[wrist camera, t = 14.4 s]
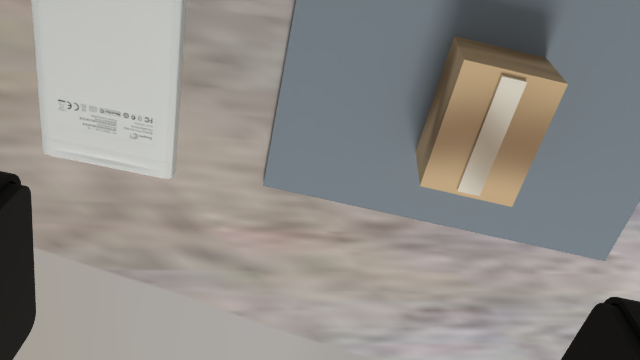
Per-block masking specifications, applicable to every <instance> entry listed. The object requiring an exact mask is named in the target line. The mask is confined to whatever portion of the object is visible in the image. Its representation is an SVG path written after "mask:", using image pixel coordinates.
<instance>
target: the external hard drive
mask: <svg viewBox="0 0 640 360" xmlns="http://www.w3.org/2000/svg"><path fill="white" fill-rule="evenodd" d="M31 3H32V16H33V29H34V42H35V55H36V69H37V81H38V94H39V106H40V120H41V132H42V146H43V153H44V154H47V155H49V156H54V157H59V158H64V159H69V160H75V161H80V162H85V163H90V164H95V165H100V166H105V167H109V168H114V169H119V170H124V171H129V172H134V173H139V174H144V175H148V176H153V177H158V178H169V179H170V178H172V177H173V175H174V174H175V171H176V155H177V140H178V125H179V109H180V93H181V76H182V60H183V43H184V27H185V10H186V0H31Z"/></svg>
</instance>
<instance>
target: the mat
mask: <svg viewBox="0 0 640 360" xmlns="http://www.w3.org/2000/svg"><path fill="white" fill-rule="evenodd" d="M454 36H456V37H460V38H465V39H469V40H473V41H477V42H482V43H486V44H490V45H494V46H498V47H503V48H507V49H511V50H515V51H520V52H524V53H528V54H532V55H537V56H541V57H545V58H547V59H548V61H549V62H550V63H551V64H552V65H553V67H554V68H555V69H556V70H557V71H558V73H559V74H560V75H561V76H562V77H563V78H564V80H565V81H566V82H567V83H568V85H567V88H566V90H565V92H564V94H563V96H562V98H561V101H560V103H559V105H558V107H557V109H556V112H555V114H554V116H553V118H552V120H551V123H550V125H549V127H548V129H547V131H546V134H545V136H544V138H543V140H542V142H541V145H540V147H539V149H538V151H537V153H536V156H535V158H534V160H533V162H532V164H531V166H530V169H529V171H528V173H527V175H526V177H525V180H524V182H523V184H522V186H521V188H520V191H519V193H518V195H517V197H516V199H515V202H514V204H513V206H512V207H509V206H505V205H501V204H496V203H492V202H488V201H483V200H479V199H474V198H470V197H466V196H461V195H457V194H453V193H448V192H444V191H439V190H435V189H431V188H426V187H422V186H420V183H419V175H418V167H417V159H416V149H417V146H418V143H419V140H420V137H421V134H422V131H423V128H424V125H425V122H426V119H427V116H428V113H429V110H430V107H431V104H432V101H433V98H434V95H435V92H436V89H437V86H438V83H439V80H440V77H441V74H442V71H443V68H444V65H445V62H446V59H447V56H448V53H449V50H450V47H451V44H452V41H453V38H454ZM263 186H267V187H271V188H276V189H280V190H285V191H289V192H294V193H298V194H303V195H308V196H312V197H317V198H321V199H326V200H330V201H335V202H339V203H344V204H348V205H353V206H357V207H362V208H367V209H371V210H376V211H380V212H385V213H389V214H394V215H398V216H403V217H407V218H412V219H416V220H421V221H426V222H430V223H435V224H439V225H444V226H448V227H453V228H457V229H462V230H466V231H471V232H476V233H480V234H485V235H489V236H494V237H498V238H503V239H507V240H512V241H516V242H521V243H525V244H530V245H535V246H539V247H544V248H548V249H553V250H557V251H562V252H566V253H571V254H575V255H580V256H584V257H589V258H594V259H598V260H603V261H605V260H606V258H607V256H608V255H609V253H610V251H611V249H612V248H613V246H614V244H615V242H616V241H617V239H618V237H619V236H620V234H621V232H622V230H623V229H624V227H625V225H626V223H627V222H628V220H629V218H630V217H631V215H632V213H633V211H634V210H635V208H636V206H637V204H638V203H639V201H640V0H296V3H295V9H294V14H293V20H292V26H291V31H290V37H289V43H288V48H287V54H286V60H285V65H284V71H283V76H282V82H281V88H280V93H279V99H278V105H277V110H276V116H275V122H274V127H273V133H272V139H271V144H270V150H269V156H268V161H267V167H266V172H265V178H264V184H263Z"/></svg>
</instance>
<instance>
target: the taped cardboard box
mask: <svg viewBox="0 0 640 360" xmlns="http://www.w3.org/2000/svg"><path fill="white" fill-rule="evenodd" d="M567 85H568V83H567V82H566V81H565V80H564V78H563V77H562V76H561V75H560V74H559V73H558V71H557V70H556V69H555V68H554V67H553V65H552V64H551V63H550V62H549V61H548V59H547V58H545V57H541V56H537V55H532V54H528V53H524V52H520V51H515V50H511V49H507V48H503V47H498V46H494V45H490V44H486V43H482V42H477V41H473V40H469V39H465V38H460V37H456V36H454V38H453V41H452V44H451V47H450V50H449V53H448V56H447V59H446V62H445V65H444V68H443V71H442V74H441V77H440V80H439V83H438V86H437V89H436V92H435V95H434V98H433V101H432V104H431V107H430V110H429V113H428V116H427V119H426V122H425V125H424V128H423V131H422V134H421V137H420V140H419V143H418V146H417V149H416V159H417V167H418V175H419V183H420V186H422V187H426V188H431V189H435V190H439V191H444V192H448V193H453V194H457V195H461V196H466V197H470V198H474V199H479V200H483V201H488V202H492V203H496V204H501V205H505V206H509V207H512V206H513V204H514V202H515V199H516V197H517V195H518V193H519V191H520V188H521V186H522V184H523V182H524V180H525V177H526V175H527V173H528V171H529V169H530V166H531V164H532V162H533V160H534V158H535V156H536V153H537V151H538V149H539V147H540V145H541V142H542V140H543V138H544V136H545V134H546V131H547V129H548V127H549V125H550V123H551V120H552V118H553V116H554V114H555V112H556V109H557V107H558V105H559V103H560V101H561V98H562V96H563V94H564V92H565V90H566V88H567Z"/></svg>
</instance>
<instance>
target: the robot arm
mask: <svg viewBox="0 0 640 360" xmlns="http://www.w3.org/2000/svg"><path fill="white" fill-rule="evenodd" d="M35 315H36V302H35V278H34V254H33V230H32V206H31V192H30V189H29V187H27V186H23V185H21V181H20V179H19V177H18V176H17V175H15V174H11V173H6V172H1V171H0V360H13V358H14V357H15V355H16V354H17V352H18V350H19V349H20V348H21V346H22V344H23V343H24V341H25V340H26V338H27V337H28V335H29V333H30V331H31V329H32V327H33V324H34V321H35ZM561 360H640V302H638V301H634V300H629V299H624V298H619V297H610V298H609V299H607V300H606V301H605V302H604V303H599V304H597V305H596V306H595V307H594V308H593V310H592V311H591V313H590V314H589V316H588V317H587V319H586V321H585V322H584V324H583V325H582V327H581V329H580V330H579V332H578V333H577V335H576V337H575V338H574V340H573V341H572V343H571V345H570V346H569V348H568V349H567V351H566V353H565V354H564V356H563V357H562V359H561Z"/></svg>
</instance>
